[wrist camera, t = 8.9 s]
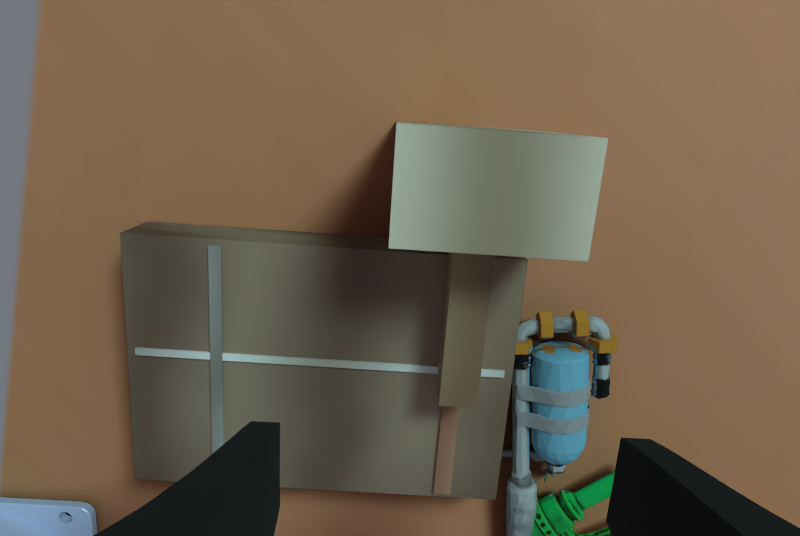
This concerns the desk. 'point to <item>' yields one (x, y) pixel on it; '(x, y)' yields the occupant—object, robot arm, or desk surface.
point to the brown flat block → (309, 358)
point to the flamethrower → (555, 420)
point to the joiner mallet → (488, 219)
